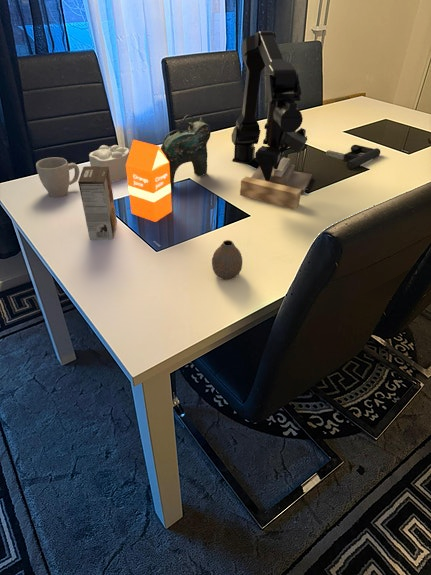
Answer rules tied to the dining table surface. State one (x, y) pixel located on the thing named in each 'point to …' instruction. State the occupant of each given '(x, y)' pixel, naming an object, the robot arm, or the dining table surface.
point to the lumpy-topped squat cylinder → (111, 160)
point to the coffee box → (98, 202)
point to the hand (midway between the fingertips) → (271, 174)
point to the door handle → (352, 156)
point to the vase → (227, 261)
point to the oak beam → (270, 192)
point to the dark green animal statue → (187, 148)
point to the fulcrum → (286, 176)
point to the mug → (56, 175)
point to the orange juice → (148, 181)
